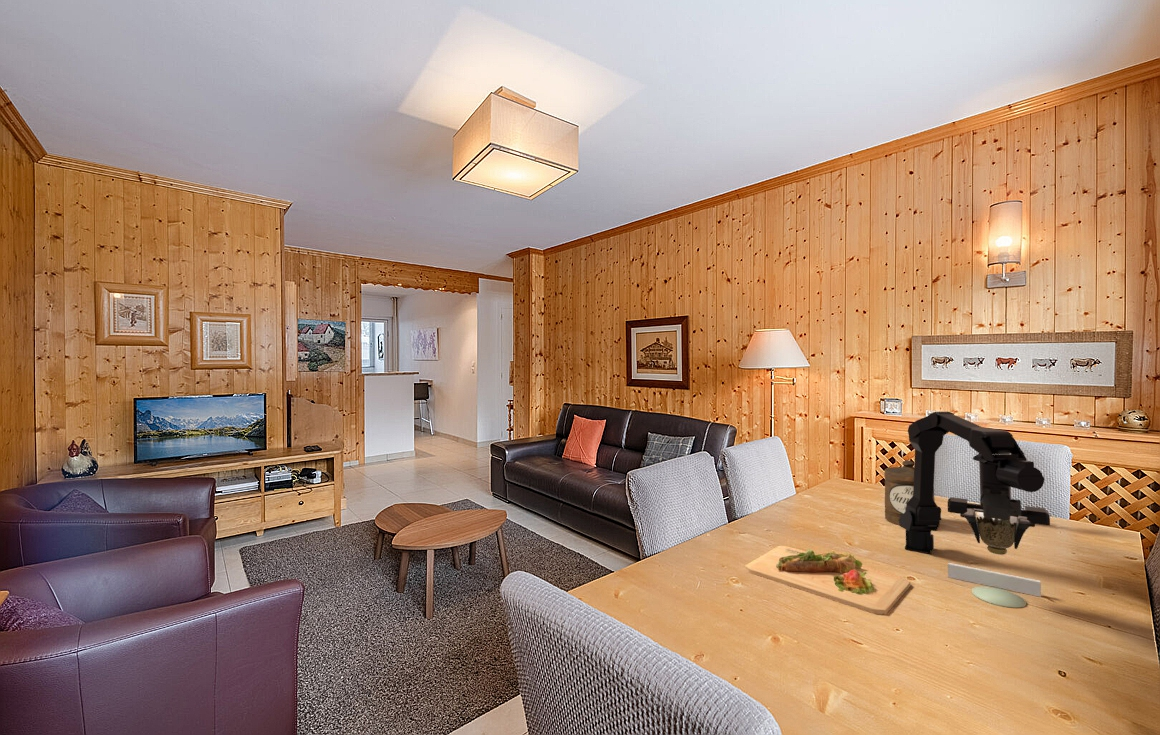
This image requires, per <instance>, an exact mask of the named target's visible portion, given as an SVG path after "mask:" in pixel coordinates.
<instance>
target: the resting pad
mask: <svg viewBox="0 0 1160 735" xmlns="http://www.w3.org/2000/svg"><path fill="white" fill-rule="evenodd" d="M971 593H972V595H973V596H974V597H975V598H977V599H979V600H981V601H983V602H985V603H989V604H991V605H995V606H999V607H1003V608H1011V609H1012V608H1013V609H1019V608H1020V609H1022V608H1024V607H1026V606H1027V601H1026V600H1025V599H1024V598H1023V597H1021V596H1020V595H1018V594H1016V593H1014V592H1011V591H1010V590H1006V589H1002V588H997V587H992V586H976V587H972V588H971Z"/></svg>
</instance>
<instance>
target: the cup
mask: <svg viewBox="0 0 1160 735" xmlns="http://www.w3.org/2000/svg"><path fill="white" fill-rule="evenodd" d="M976 519H977V524H978V530H979V535H980V541H982V542H983V543H984V544H985V545H986V547H987V551H988V552H989V553H991V554H994V555H999V556H1000V555H1001V556H1003V555H1007V554H1008V549H1010V548H1011V547H1012V546H1014V540H1015V534H1016V525H1017V523H1015V522H1014V523H1013V524H1011V523H1010V520H1008V521H1005V520H1002V519H1000V520H998V519H996V518H995V519H994V521H993V519H992V518H991V519H990V518H986V517H984V518H983V519H982V517H981V516H980V517H978V516H976Z"/></svg>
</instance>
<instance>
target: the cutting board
mask: <svg viewBox="0 0 1160 735" xmlns="http://www.w3.org/2000/svg"><path fill="white" fill-rule="evenodd" d="M744 568H745V570H746V571H747V572H748V573H750V574H752V575H756V576H758V577H762V578H764V579H767V580H770V581H773V582H776V583H780V584H783V585H785V586H789V587H790V588H791V587H792V588H795V589H798V590H801V591H804V592H806V593H810V594H813V595H816V596H818V597H821V598H825V599H829V600H832V601H834V602H838V603H841V604H843V605H847V606H850V607H853V608H856V609H859V610H861V611H864V612H868V613H871V614H877V615H887V614H888V612H890V610H891V609H892V608H893V607H894V605H896V604H897V602H898V601H899V600H900V599H901V597H903V595H904V594H905V593H906V592H907V590H908V589H909V588H910V587H911V581H910V580H908V579H906V578H904V577H902V576H899V575H894V574H892V573H887V572H885V571H880V570H876V569H873V568H869V567H866V566H863V562H862V561H860V560H859V559H856V557H855V556H854V555H852V554H850V553H847V552H844V553H836V552H832V551H830V552H827V553H826V552H825V553H821V554H817V553H815V552H814V550H813V549H810V548H809V549H807V550H806V551H805V550H803V549H800V548H799V549H798V548H795V547H794V548H793V547H791V546H787V545H778V546H776V547H774V548H773V549H771V550H770V551H767V552H766V553H764V554H762V555H761V556H759V557H757V558H756V559H754V560H752V561H751V562H749V563H747V564H745V567H744Z"/></svg>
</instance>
